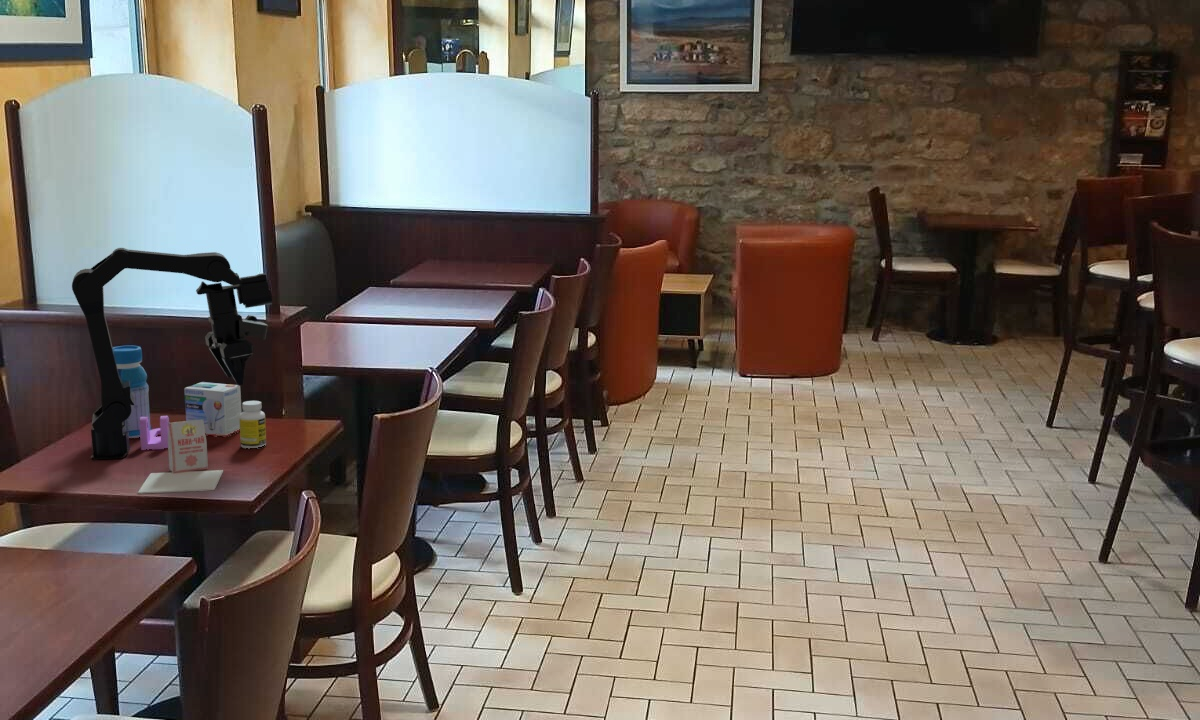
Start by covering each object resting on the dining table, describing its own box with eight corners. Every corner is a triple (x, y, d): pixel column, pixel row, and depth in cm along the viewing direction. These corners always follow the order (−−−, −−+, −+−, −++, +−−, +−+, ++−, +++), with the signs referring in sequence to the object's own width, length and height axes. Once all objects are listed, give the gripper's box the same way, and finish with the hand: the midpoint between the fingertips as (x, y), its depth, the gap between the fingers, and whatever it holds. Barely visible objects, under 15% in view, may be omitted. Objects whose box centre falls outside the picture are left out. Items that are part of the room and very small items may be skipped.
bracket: (168, 449, 249) (166, 418, 247) (141, 450, 247) (138, 419, 246) (176, 433, 261) (173, 403, 260) (150, 434, 260) (147, 404, 258)
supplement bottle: (262, 449, 248) (260, 405, 246) (237, 449, 248) (235, 405, 246) (269, 442, 254) (267, 399, 252) (245, 442, 254) (242, 399, 252)
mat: (138, 493, 219) (137, 492, 219) (150, 474, 231) (150, 473, 231) (214, 490, 222) (214, 488, 221) (223, 471, 233) (223, 470, 233)
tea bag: (169, 469, 234) (166, 421, 232) (203, 465, 237) (201, 417, 236) (173, 473, 230) (170, 424, 229) (207, 468, 234) (205, 420, 232)
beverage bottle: (143, 440, 255) (136, 352, 250) (105, 439, 255) (97, 351, 250) (157, 429, 263) (151, 344, 259) (120, 429, 263) (114, 344, 259)
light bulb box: (185, 433, 260) (182, 387, 258) (204, 426, 267) (201, 381, 264) (226, 437, 257) (223, 391, 255) (244, 430, 264) (241, 384, 261)
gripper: (272, 310, 242) (283, 381, 246) (250, 299, 258) (261, 366, 262) (218, 320, 237) (231, 392, 241) (199, 308, 253) (211, 376, 256)
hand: (235, 381), depth 250 cm, fingers open, 9 cm apart
